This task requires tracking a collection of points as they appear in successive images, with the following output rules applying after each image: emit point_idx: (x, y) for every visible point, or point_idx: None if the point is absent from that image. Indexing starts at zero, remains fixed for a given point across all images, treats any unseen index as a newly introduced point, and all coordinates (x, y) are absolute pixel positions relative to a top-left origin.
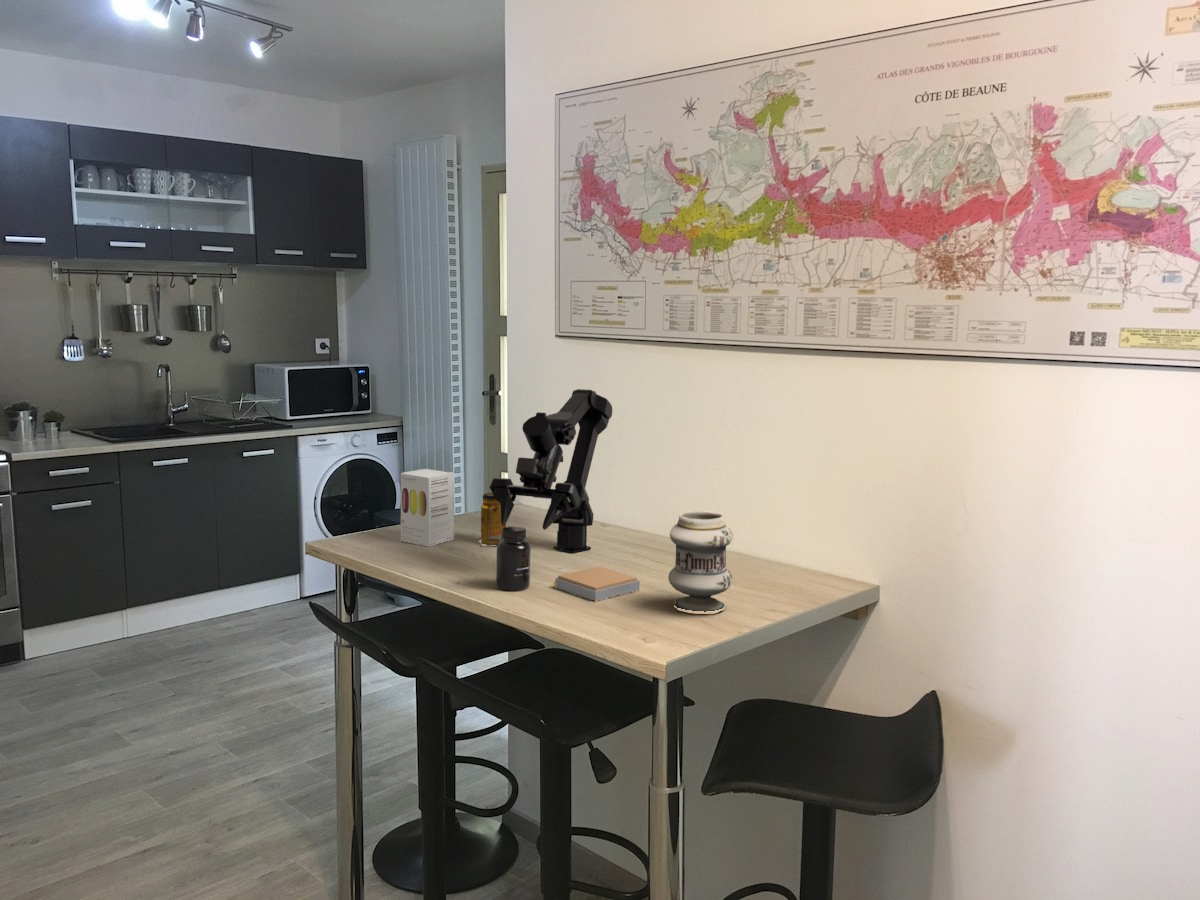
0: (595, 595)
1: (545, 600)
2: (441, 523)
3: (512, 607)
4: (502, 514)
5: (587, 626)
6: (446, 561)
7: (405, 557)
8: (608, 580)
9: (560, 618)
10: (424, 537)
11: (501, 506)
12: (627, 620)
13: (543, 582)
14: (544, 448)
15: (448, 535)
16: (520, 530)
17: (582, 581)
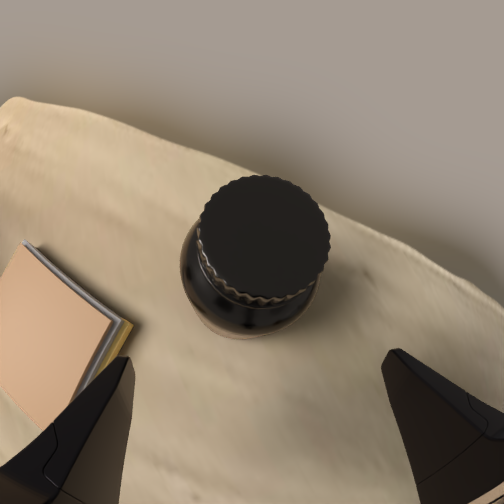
0: (28, 242)
1: (126, 220)
2: None
3: (180, 159)
4: (429, 373)
5: (54, 133)
6: None
7: (494, 376)
8: (4, 310)
9: (88, 143)
10: None
11: (471, 398)
12: (4, 178)
13: (177, 365)
14: None
15: None
16: (217, 207)
17: (45, 282)
